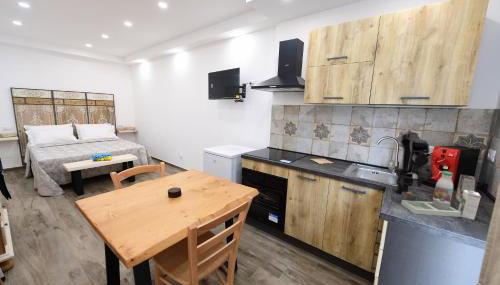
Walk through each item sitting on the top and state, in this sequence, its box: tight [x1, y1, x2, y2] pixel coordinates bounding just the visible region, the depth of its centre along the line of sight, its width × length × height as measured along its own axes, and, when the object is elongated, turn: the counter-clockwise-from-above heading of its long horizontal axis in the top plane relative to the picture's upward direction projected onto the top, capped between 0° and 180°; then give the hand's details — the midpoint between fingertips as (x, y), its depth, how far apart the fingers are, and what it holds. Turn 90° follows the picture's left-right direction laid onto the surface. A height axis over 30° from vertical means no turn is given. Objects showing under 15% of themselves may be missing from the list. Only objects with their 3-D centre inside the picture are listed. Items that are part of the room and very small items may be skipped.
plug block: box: [400, 191, 417, 201], centre depth 123 cm, size 5×5×7 cm
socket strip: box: [400, 200, 461, 218], centre depth 113 cm, size 11×23×4 cm, turn 87°
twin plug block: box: [432, 198, 452, 211], centre depth 112 cm, size 5×5×7 cm
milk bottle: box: [432, 170, 454, 203], centre depth 123 cm, size 8×8×20 cm
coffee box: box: [455, 174, 479, 203], centre depth 129 cm, size 9×6×16 cm
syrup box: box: [457, 190, 482, 221], centre depth 107 cm, size 6×6×14 cm
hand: (410, 186), depth 121 cm, fingers open, 9 cm apart
